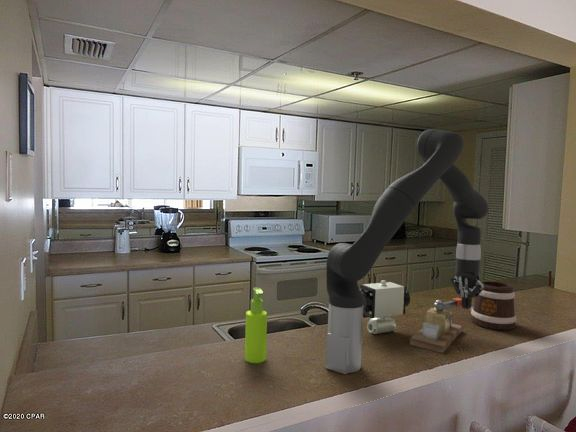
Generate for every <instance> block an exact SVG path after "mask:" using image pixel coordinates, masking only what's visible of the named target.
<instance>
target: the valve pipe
mask: <svg viewBox="0 0 576 432" xmlns="http://www.w3.org/2000/svg"><path fill="white" fill-rule="evenodd" d="M425 315H426V317H425V322H423V323H422V328H423V332H422V338H425V339H429V340H433V341H438V338H439V337H440V336H445V335H446V334H447V333H448V332H449V327H451V324H453V323H452V322H453V321H452V320H453V313H452V312H451V310H448V309H443V311H442V312H439V311H435V310H434V307H430V308H429V309H427V311H426V314H425Z"/></svg>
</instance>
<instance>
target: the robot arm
mask: <svg viewBox="0 0 576 432" xmlns="http://www.w3.org/2000/svg"><path fill="white" fill-rule="evenodd" d="M464 143H465V141H464V138H463V136H462V135H461V134H460V133H458V132H454V131H448V130H444V129H438V128H437V129H436V128H430V129H429V128H428V129H426V130H424V131H423V132H422V133H421V134H420V135H419V137H418V139H417V142H416V150H417V154H418V155H419V157H420V159H421V160H422V161H423V162H424V163H423V164H422V165H421V166H420V167H419V168H417V169H414V170H413V171H411V172H409V173H407V174H405V175H403V176H401V177H399V178H398V179H396V180H394V181H393V182H392V183H390V184H389V185H388V186H387V188H386V189H385V190H384V191H383V193H382V194H381V195H380V196H379V198H378V199H377V201H376V203H375V204H374V207H373V210H372V213H371V216H370V220H369V222H368V225H367V226H366V228H365V230H364V231H363V232H362V233H361V234H360V236H359V237H358V238H357V239H356V240H355V242H353V244H351V243H346V242H339V243H336V244H335V245H334V246H332V247H331V248H330V250H329V251H328V255H327V258H326V291H327V295H328V313H327V314H328V317H327V333H326V341H325V343H326V346H325V369H328V370H330V371H333V372H337V373H340V374H343V375H347V374H350V373H351V374H352V373H356V372H358V371H360V370H361V365H362V346H363V345H362V344H363V342H362V341H363V323H364V322H363V319H364V314H363V302H364V297H363V294H362V292H361V290H360V287H359V286H360V285H359V283H358V281H360V280H362V279H364V278H365V277H366V276H367V275H368V274H369V272H370V271H371V270H372V268H373V266H374V265H375V263H376V261H377V260H378V258H379V257H380V255H381V253H382V252H383V250H384V249H385V247H386V246H387V244H388V243H389V241H390V240H392V238H393V237H394V235H395V234H396V233H397V231H398V230H399V229H400V228H401V226H402V225H403V224H404V223H405V221H406V220H407V219H408V217H410V215H411V214H412V213H413V211H414V210H415V209H416V208H417V206H418V205H419V204H420V203H421V200H422V199H423V198H424V197H425V196H426V194H428V192H429V191H430V190H431V189H432V187H434V185H435V184H436V183H437V182H438V181H441V182H442V184H443V186H444V188H445V190H447V192H448V194H449V195H450V198H451V199H452V201H453V204H452V212H453V216H454V217H453V218H454V220H455V224H456V229H457V244H456V249H455V251H456V253H455V271H456V273H455V276H454V277H451V278H450V282H451V284H452V286H453V288H454V290H455V292H456V294H457V295H460V297H461V299H462V307H461V308H462V309H465V310H468V309H470V308H471V306H473V305H472V301H473V300H472V299H473V298H475V297H477V296H478V295H479V294H480V293H481V292H482V290H483V289H484V288H485V287H486V286H485V284H482V283H481V282H482V281H480V276H479V275H480V272H481V257H482V256H481V255H482V251H481V249H482V248H481V238H482V237H481V235H482V234H481V233H482V232H481V231H482V230H481V228H480V227H479V226H476V225H473V224H470V223H469V222H468V219H471V220H473V219H474V220H481V219H483V218H485V217H486V216H487V214H488V212H489V205H488V202H487V200H486V199H485V196H483V195H482V194H480V193H479V192H478V191H477V190H476V189H475V188H474V187H473V184H472V183H471V181H470V179H469V177H468V176H467V175H466V174H465V173H464V171H462V170H461V169H460V168H459V167H458V166H457V165H456V164H455V163H456V162H457V160H458V159H459V157H460V156H461V153H462V152H463V148H464V146H465V145H464Z"/></svg>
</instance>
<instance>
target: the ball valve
mask: <svg viewBox="0 0 576 432" xmlns="http://www.w3.org/2000/svg"><path fill="white" fill-rule="evenodd" d="M359 286H360V287H359V289H360V290H361V292H362V294H363V297H364V302H363V316H366V317H368V318H370V319H369V321H367V324H366V328H367V331H368V332H369V333H371V334H375V335H377V334H382V333H390V332H392V331H395V329H396V327H397V324H396V321H395V319H393V318H392V317H393V316H394V317H395V316H402V315H406V310H407V307H408V306H409V305H410V303H411V295H410V292H409V290H408V289H407V286H406V285H403V284H399V283H397V282H395V281H389V282H388V281H387V280H385V279H383V280H381V281H380V282H376V283H375V282H374V283H366V284H364V283H363V284H359Z"/></svg>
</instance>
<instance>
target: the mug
mask: <svg viewBox="0 0 576 432" xmlns="http://www.w3.org/2000/svg"><path fill="white" fill-rule="evenodd" d="M480 282H481V283H482V284H485V286H486V287H485V288H484V289H483V290H482V292H481V293H480V294H479V295H478V296H477V297H474V303H473V305H472V306H471V308H470V309H467V310H468V311H470V314H471V317H470V319H471V320H470V321H472V322H473V324H475V325H476V326H479V327H482V328H485V329H490V330H494V331H511V330H512V329H514V328H516V322H517V316H516V314H515V300H514V299H515V297H516V293H515V292H514V289H513V287H512V286H511V285H510V284H508V283H504V282H500V281H499V282H498V281H490V280H489V281H487V280H484V281H480Z"/></svg>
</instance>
